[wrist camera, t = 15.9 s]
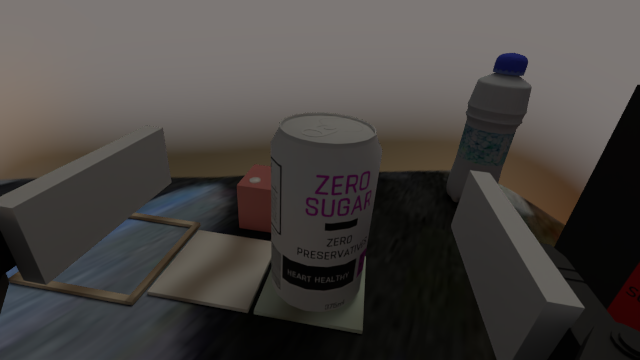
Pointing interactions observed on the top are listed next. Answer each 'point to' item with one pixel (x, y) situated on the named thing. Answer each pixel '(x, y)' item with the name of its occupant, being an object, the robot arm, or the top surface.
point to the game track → (219, 279)
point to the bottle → (491, 122)
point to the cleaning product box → (611, 223)
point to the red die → (255, 199)
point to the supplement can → (321, 207)
